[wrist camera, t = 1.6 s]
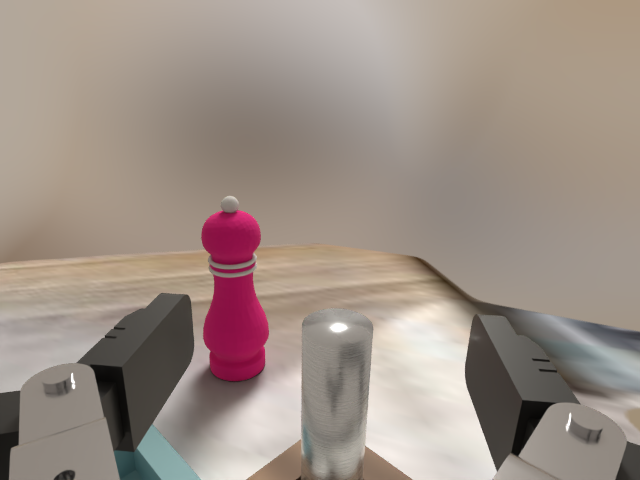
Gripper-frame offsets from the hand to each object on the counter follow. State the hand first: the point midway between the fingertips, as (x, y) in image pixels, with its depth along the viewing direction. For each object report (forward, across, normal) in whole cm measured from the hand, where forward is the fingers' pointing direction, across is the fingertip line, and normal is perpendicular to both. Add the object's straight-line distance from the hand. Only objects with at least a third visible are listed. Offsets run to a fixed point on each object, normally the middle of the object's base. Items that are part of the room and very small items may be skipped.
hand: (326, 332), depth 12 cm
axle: (+11, 0, +24) cm, 26 cm away
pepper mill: (+31, +12, +24) cm, 41 cm away
